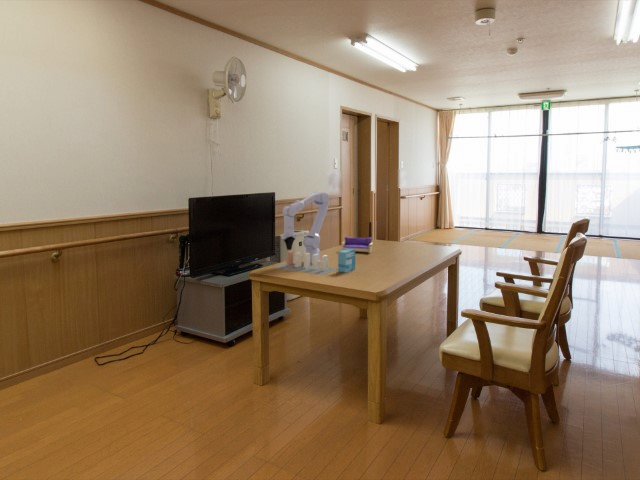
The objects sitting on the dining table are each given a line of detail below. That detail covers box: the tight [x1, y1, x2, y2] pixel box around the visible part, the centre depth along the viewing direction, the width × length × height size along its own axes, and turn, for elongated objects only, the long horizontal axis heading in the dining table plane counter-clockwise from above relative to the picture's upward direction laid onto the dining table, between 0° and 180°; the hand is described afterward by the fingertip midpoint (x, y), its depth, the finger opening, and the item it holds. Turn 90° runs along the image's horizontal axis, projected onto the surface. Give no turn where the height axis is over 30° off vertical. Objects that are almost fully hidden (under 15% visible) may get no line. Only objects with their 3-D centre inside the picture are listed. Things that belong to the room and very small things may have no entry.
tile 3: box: [303, 252, 311, 269], centre depth 265 cm, size 4×2×8 cm, turn 149°
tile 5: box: [320, 254, 329, 271], centre depth 259 cm, size 4×2×8 cm, turn 149°
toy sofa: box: [340, 236, 374, 254], centre depth 319 cm, size 21×9×10 cm, turn 72°
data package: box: [337, 249, 356, 274], centre depth 258 cm, size 12×4×12 cm, turn 147°
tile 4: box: [312, 254, 320, 270], centre depth 262 cm, size 4×2×8 cm, turn 149°
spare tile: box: [286, 250, 294, 266], centre depth 272 cm, size 4×2×8 cm, turn 148°
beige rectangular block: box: [294, 251, 303, 267], centre depth 268 cm, size 4×2×8 cm, turn 149°
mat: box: [272, 262, 338, 276], centre depth 265 cm, size 17×34×1 cm, turn 59°
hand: (289, 249), depth 271 cm, fingers closed
